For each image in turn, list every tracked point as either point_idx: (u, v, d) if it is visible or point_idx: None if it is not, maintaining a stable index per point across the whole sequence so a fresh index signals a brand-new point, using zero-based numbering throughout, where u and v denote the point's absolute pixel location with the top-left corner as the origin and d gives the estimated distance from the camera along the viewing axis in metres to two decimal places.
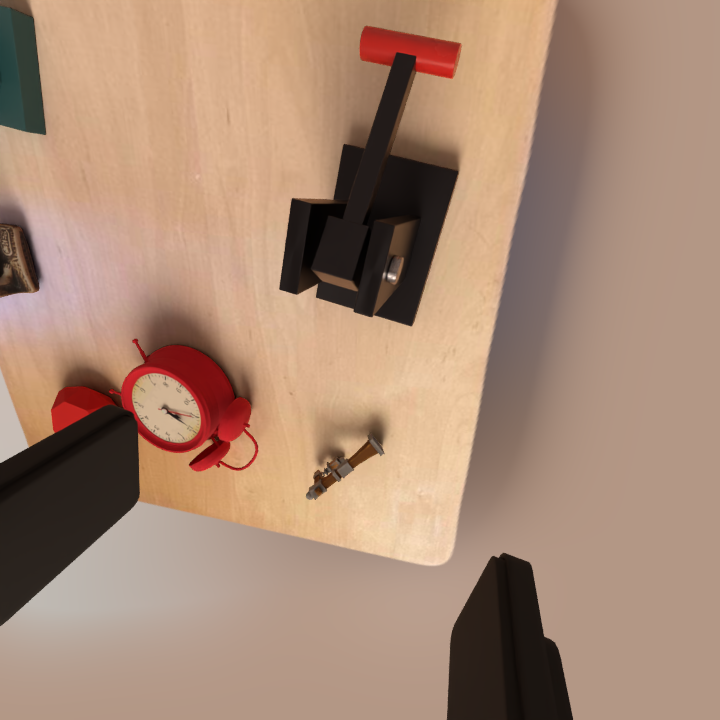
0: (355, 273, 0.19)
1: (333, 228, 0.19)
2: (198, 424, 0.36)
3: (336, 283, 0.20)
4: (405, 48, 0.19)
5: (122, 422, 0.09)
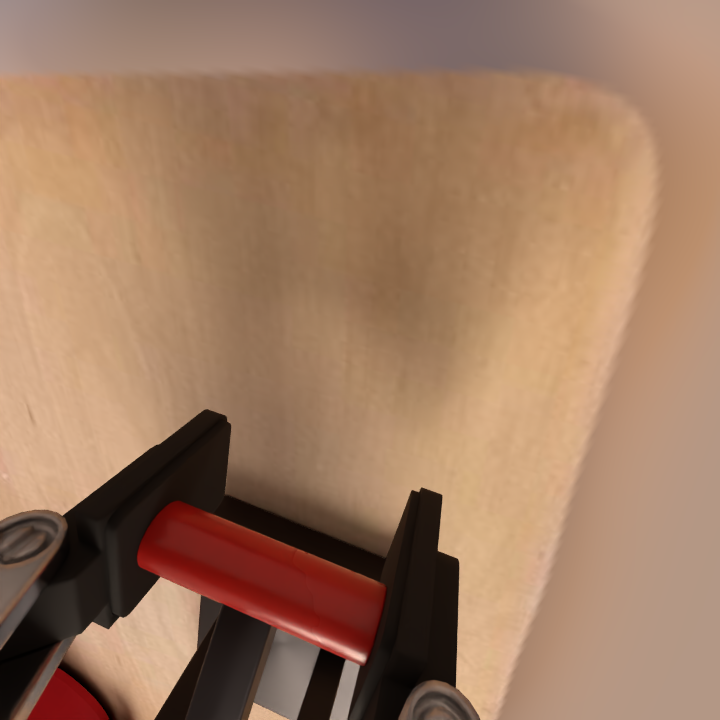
0: None
1: None
2: None
3: None
4: (244, 599, 0.08)
5: (222, 426, 0.10)
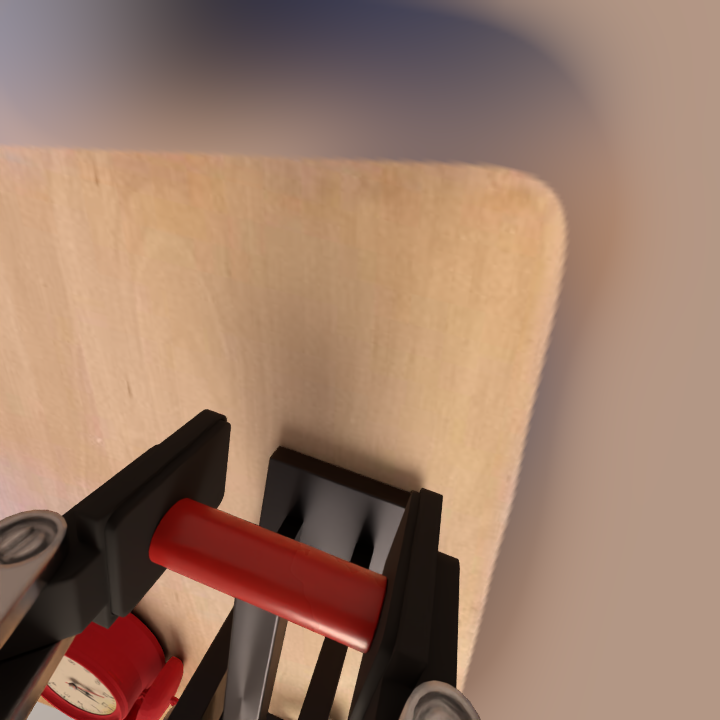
0: None
1: None
2: (114, 704, 0.29)
3: None
4: (251, 594, 0.08)
5: (221, 426, 0.10)
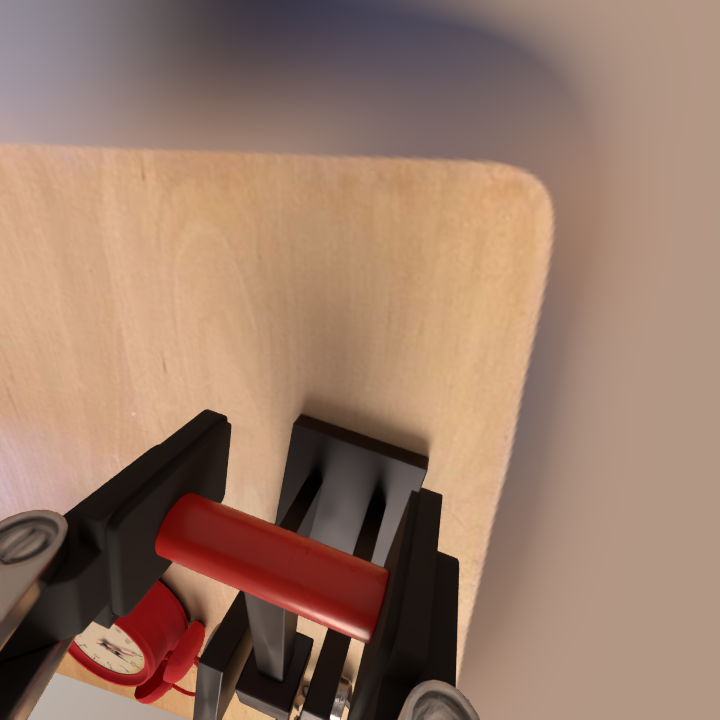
0: (289, 716, 0.15)
1: (247, 697, 0.14)
2: (142, 662, 0.31)
3: None
4: None
5: (222, 426, 0.10)
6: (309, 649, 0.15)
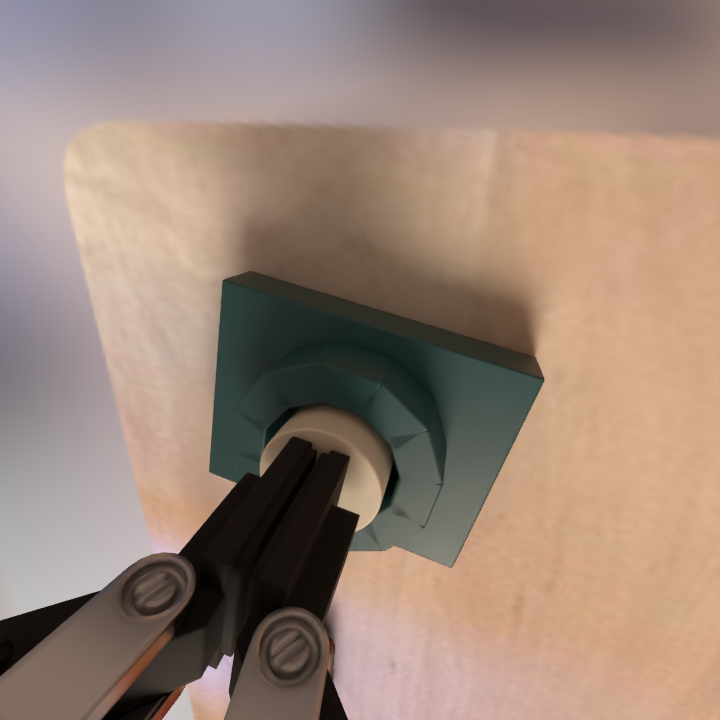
0: None
1: None
2: None
3: None
4: None
5: (311, 454, 0.10)
6: None
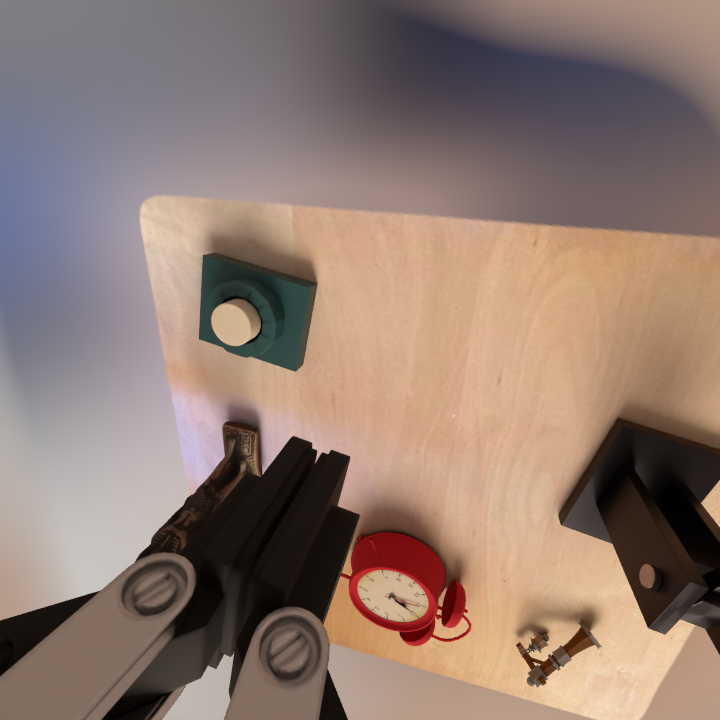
0: None
1: (704, 607, 0.22)
2: (423, 611, 0.39)
3: None
4: None
5: (311, 454, 0.10)
6: None
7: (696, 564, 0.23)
